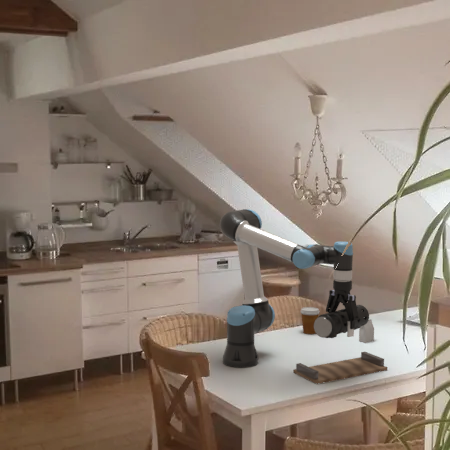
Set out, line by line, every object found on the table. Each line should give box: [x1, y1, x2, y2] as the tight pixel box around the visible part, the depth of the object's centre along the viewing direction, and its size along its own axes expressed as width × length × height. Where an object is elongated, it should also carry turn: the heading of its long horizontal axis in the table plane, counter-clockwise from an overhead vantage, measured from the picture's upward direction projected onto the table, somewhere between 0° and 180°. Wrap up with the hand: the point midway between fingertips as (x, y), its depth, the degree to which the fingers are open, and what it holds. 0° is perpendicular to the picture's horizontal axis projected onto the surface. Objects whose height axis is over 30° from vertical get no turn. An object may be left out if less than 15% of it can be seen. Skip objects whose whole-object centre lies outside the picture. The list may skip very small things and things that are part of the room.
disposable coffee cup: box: [300, 306, 320, 335], centre depth 341 cm, size 10×10×12 cm
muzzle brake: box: [314, 304, 370, 339], centre depth 280 cm, size 10×28×10 cm, turn 137°
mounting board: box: [292, 351, 388, 385], centre depth 281 cm, size 36×16×4 cm, turn 119°
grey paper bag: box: [358, 318, 375, 344], centre depth 327 cm, size 4×7×10 cm, turn 133°
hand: (341, 333), depth 280 cm, fingers closed on muzzle brake, 11 cm apart
